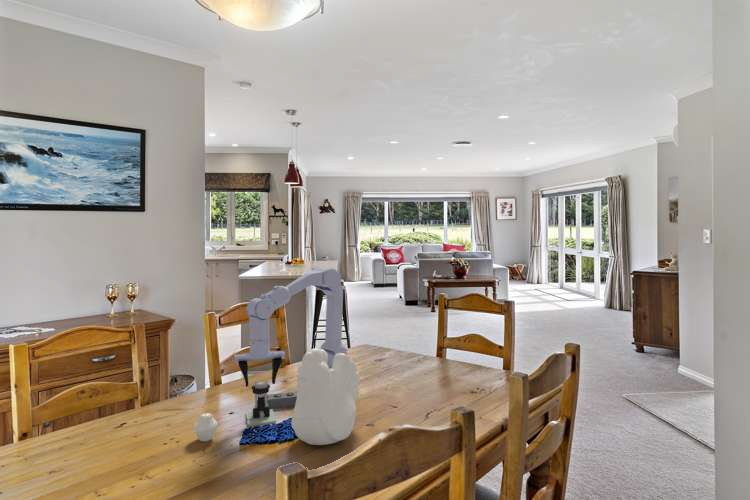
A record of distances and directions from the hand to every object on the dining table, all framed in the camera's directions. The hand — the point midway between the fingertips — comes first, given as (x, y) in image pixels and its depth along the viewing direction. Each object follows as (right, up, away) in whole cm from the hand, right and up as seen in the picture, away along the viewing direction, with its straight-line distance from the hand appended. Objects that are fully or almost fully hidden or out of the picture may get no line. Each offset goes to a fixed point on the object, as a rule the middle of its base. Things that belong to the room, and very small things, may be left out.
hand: (260, 384), depth 139 cm
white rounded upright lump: (+23, -11, -12) cm, 28 cm away
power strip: (+6, -10, +12) cm, 17 cm away
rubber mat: (0, -10, 0) cm, 10 cm away
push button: (0, -10, 0) cm, 10 cm away
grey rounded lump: (-11, -11, -14) cm, 21 cm away
